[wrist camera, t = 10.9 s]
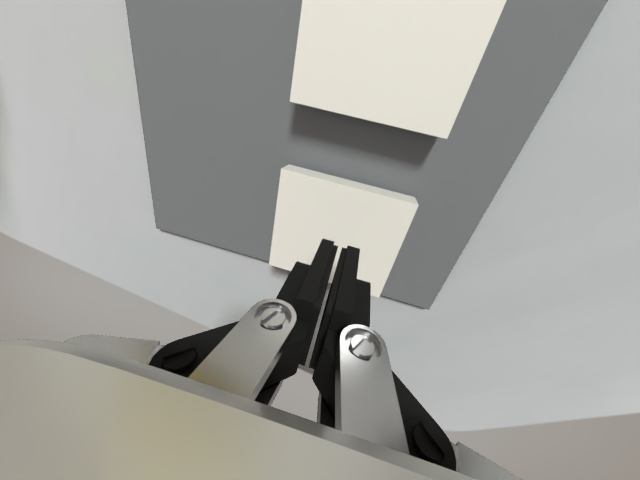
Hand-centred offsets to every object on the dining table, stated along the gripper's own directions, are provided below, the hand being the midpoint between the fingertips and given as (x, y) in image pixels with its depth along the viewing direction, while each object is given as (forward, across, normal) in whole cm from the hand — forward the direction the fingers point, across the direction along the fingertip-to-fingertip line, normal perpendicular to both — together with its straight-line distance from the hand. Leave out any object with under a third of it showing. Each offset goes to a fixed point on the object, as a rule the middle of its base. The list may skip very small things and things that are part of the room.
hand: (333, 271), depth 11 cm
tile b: (+4, -3, 0) cm, 5 cm away
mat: (+5, +3, -4) cm, 7 cm away
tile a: (+4, -3, -9) cm, 10 cm away
